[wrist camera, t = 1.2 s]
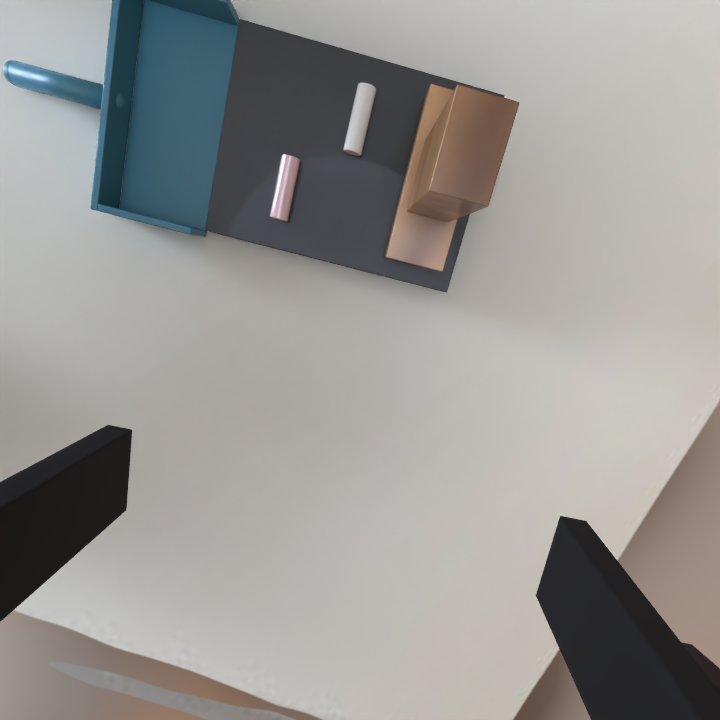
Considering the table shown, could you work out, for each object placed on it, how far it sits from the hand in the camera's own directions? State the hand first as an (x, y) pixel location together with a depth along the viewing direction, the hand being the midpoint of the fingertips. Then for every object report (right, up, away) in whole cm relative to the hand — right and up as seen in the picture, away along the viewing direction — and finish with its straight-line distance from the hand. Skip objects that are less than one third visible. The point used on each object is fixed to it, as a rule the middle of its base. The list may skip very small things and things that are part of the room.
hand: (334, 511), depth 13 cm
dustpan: (-17, +24, +21) cm, 36 cm away
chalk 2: (+1, +22, +19) cm, 29 cm away
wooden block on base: (+6, +18, +21) cm, 28 cm away
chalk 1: (-5, +18, +20) cm, 27 cm away
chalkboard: (0, +20, +22) cm, 29 cm away
